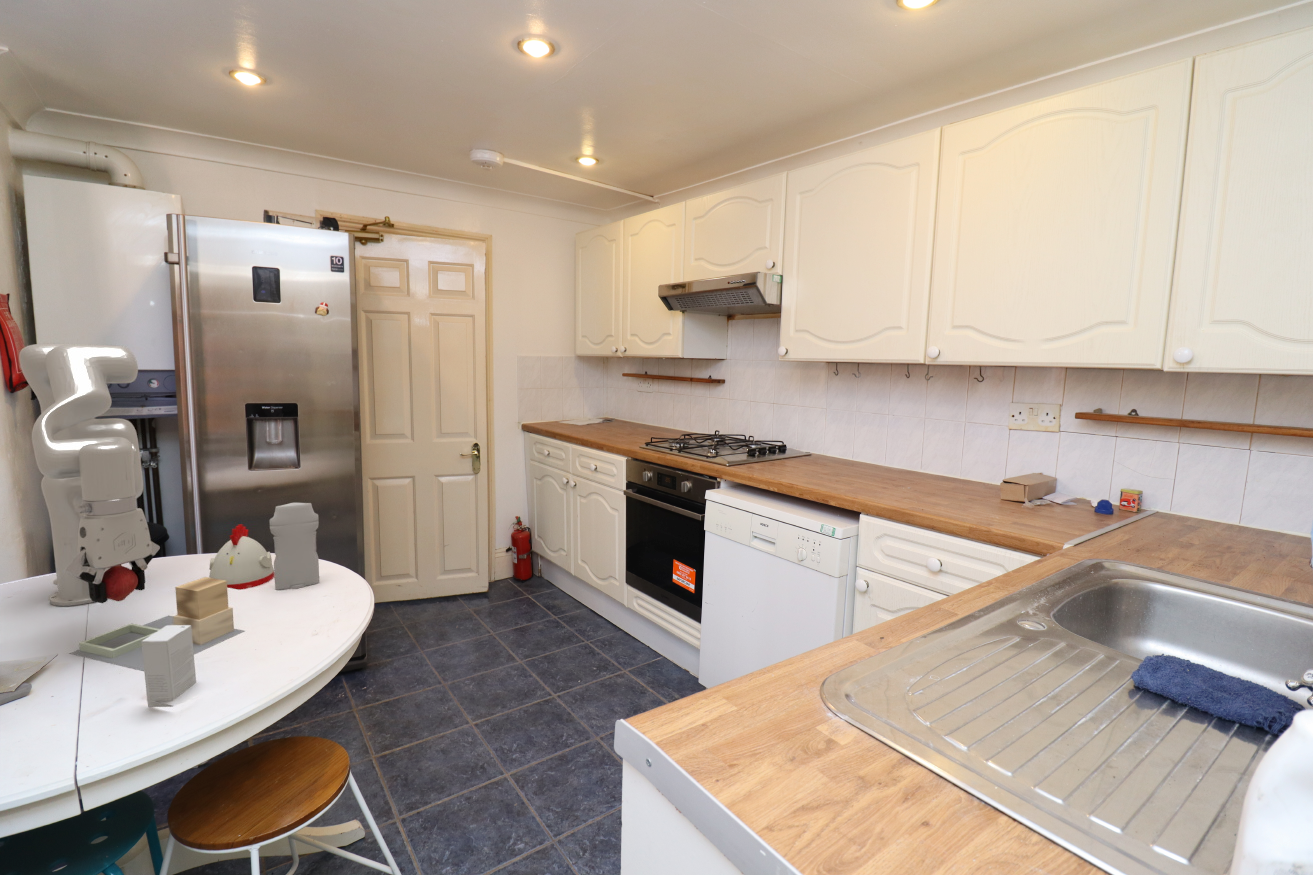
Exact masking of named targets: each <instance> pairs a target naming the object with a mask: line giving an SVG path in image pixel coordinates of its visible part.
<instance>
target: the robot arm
mask: <svg viewBox="0 0 1313 875" xmlns="http://www.w3.org/2000/svg"><path fill="white" fill-rule="evenodd" d="M18 354H19V357H18V360H19V361H18V362H19V365H20V369H21V372H22V374H23V376H24V378H25V380H26V382H27V383H28V385H29V387H30V388H31V390H32V392H34V394H35V396H36V398H37V400H38V403H39V406H40V413H41V414H40V415H39V416H38V417H37V418H36V421H35V422H34V424H33V427H32V431H31V443H32V448H33V451H34V452H33V454H34V456H35V457H34V458H35V463H36V466H37V468H38V470H39V472H40V473H41V474H42V475H43V477H42V479H41V483H40V484H41V485H40V486H41V487H40V488H41V492H42V495H43V498H44V501H45V505H46V508H47V511H48V516H49V521H50V526H51V527H50V528H51V536H52V546H53V556H54V566H55V573H56V574H55V575H56V578H55V579H54V580H53V582H52V584H53V585H54V586H57V591H56V592H54V593H53V594H51V595H50V597H49V603H50V605H53V606H56V607H57V606H58V607H69V606H80V605H86V604H91V603H99V604H104V603H107V601H108V598H107V594H106V584H105V582H102V578H103V575H104V572H105V571H106V570H108V569H109V568H111V567H114V566H118V565H121V566H122V565H124V564H129V566H130V567H131V568H130V569H131V570H132V571H133V572H134V573H135V574H136V575H137V578H138V584H137V586H136V588H135V590H136V591H144V590H145V588H146V587H145V584H146V576H145V575H146V574H145V570H147V569H148V565H149V564H150V563H151V561H152V560H153V558H154V556H156V554H157V553H158V552H159V550H160V548H161V547H160V545H159V544H157V543H155V542H153V541H152V540H151V539H152V538H151V535H150V534H151V533H150V529H149V525H148V522H147V519H146V516H145V512H144V511H143V509H142V508H140V507H139V508H138V507H137V499H138V498H139V497H141V495H142V494H143V492H144V477H143V469H142V461H141V460H142V459H141V454H140V445H139V439H138V435H137V434H138V433H137V430H136V429H135V426H134V425H133V423H132V422H131V421H129V420H128V419H124V418H119V417H115V418H114V417H113V418H97V417H100V416H101V415H103V414H105V413H106V412H108V410H109V409H110V408H111V406H112V397H111V394H110V391H109V388H108V384H130V383H132V382H133V383H134V382H135V381H136V380H137V376H138V373H139V366H138V362H137V360H136V357H135V355H134V353H133V352H132V351H131V350H130V348H128V347H126V346H123V345H112V344H111V345H109V344H80V343H77V344H76V343H52V342H51V343H36V344H35V343H34V344H30V345H26V346H24V347H23V348H22V349H21V350H20V351H19V353H18ZM135 590H134V591H135Z"/></svg>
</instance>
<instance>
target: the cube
mask: <svg viewBox="0 0 1313 875" xmlns="http://www.w3.org/2000/svg"><path fill="white" fill-rule="evenodd" d="M174 588H175V599H176V600H175V601H176V602H175V603H176V615H178V616H183V617H188V618H193V619H198V620H200V619H203V618H205V617H208V616H210V615H213V614H215V613H218V612H220V611H223V610H225V609H228V608H229V607H230V606H229V593H228V588H227V581H225V580H220V579H214V578H209V576H208V577H207V576H205V577H201V578H198V579H196V580H192V581H190V582H186V583H184V584H181V585H177V586H175V587H174Z"/></svg>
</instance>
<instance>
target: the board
mask: <svg viewBox="0 0 1313 875" xmlns="http://www.w3.org/2000/svg"><path fill="white" fill-rule="evenodd" d="M173 616H174V615H165V616H164V617H161V618H158V619H155V620H153V621H150V622H148V623H146V624H142V625H143V626H147V627H152V628H157V629H162V628H163V627H165V626H167V625H174V623H173ZM244 632H246V630H242V629H239V628H234V630H233V631H231V632H229V633H226V634H224V635H222V636H220V637H217V638H215V639H213V640H211V641H209V642H206V643H204V644H202V645H198V644H194V643H193V651H194V655H196V654H199V653H201V652H203V651H205V650H207V649H210V648H211V647H214V646H216V645H219V644H221V643H222V642H225V641H228V640H229V639H231V638H233V637H236V636H238V635H240V634H242V633H244ZM145 636H147V635H144V634H140V633H135V632H129V633H127V634H124V635H121V636H119V637H116V638H114V639H111V640H108V641H106V642H103V643H101V644H98V645H99V646H104V647H108V648H112V649H115V648H117V647H120V646H122V645H125V644H127V643H130V642H132V641H135V640H137V639H140V638H142V637H145ZM69 654H70V655H74V656H77V657H82V658H85V659H86V658H87V659H89V660H94V661H99V662H103V663H107V664H110V665H117V666H120V667H124V668H127V669H133V670H136V671H140V672H144V663H143V653H142V647H139V648H137V649H134V650H132V651H130V652H127V653H125V654H122V655H120V656H117V657H115V658H110V657H106V656H101V655H97V654H93V653H89V652H84V651H80V650H79V649H77V650H74V651H71V652H69Z"/></svg>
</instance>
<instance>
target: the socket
mask: <svg viewBox="0 0 1313 875" xmlns="http://www.w3.org/2000/svg"><path fill="white" fill-rule="evenodd" d="M143 625H144V624H137V623H133V622H131V623H128V624H127V625H124V626H121V627H119V628H116V629H113V630H110V631H108V632H104V633H102V634H100V635H97V636H94V637H90V638H88V639H86V640H82V641H80V642H79V643H78V650H80V651H84V652H89V653H93V654H97V655H101V656H106V657H110V658H115V657H117V656H120V655H122V654H125V653H127V652H130V651H132V650H134V649H137V648H139V647H142V643H141V641H143V640H144V639H146V638H148V637H149V636H151V635H152V634H154V633H156V632H157V631H159V630H160V629H157V628H152V627H147V626H143ZM129 632H135V633H140V634H144V635H147V636H145V637H142V638H140V639H137V640H135V641H132V642H130V643H127V644H125V645H122V646H120V647H117V648H115V649H112V648H108V647H104V646H99V645H98V644H101V643H103V642H106V641H108V640H111V639H114V638H116V637H119V636H121V635H124V634H127V633H129Z"/></svg>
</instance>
